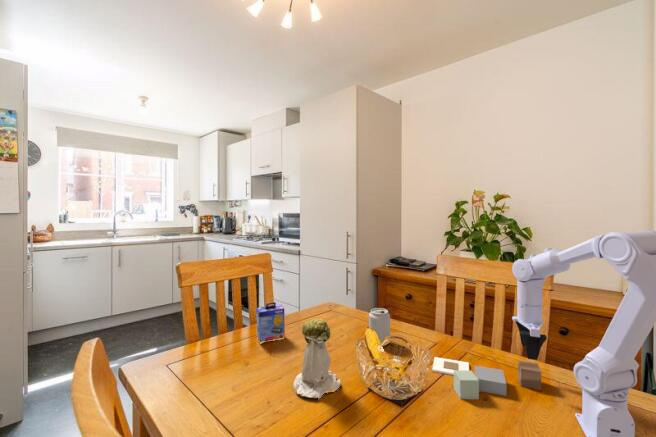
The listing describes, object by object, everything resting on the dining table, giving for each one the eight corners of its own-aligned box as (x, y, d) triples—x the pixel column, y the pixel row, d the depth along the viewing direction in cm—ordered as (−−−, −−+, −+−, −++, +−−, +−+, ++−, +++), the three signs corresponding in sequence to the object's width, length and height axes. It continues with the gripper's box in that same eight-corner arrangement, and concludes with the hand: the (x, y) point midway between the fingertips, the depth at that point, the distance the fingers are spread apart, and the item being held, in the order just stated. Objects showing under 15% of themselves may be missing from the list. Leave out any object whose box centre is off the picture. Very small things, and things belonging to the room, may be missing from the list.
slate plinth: (506, 397, 79) (506, 383, 79) (476, 391, 82) (476, 378, 82) (502, 382, 86) (502, 370, 86) (474, 377, 89) (474, 365, 88)
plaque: (469, 378, 88) (469, 375, 88) (432, 371, 92) (432, 368, 92) (468, 364, 95) (468, 361, 95) (434, 358, 99) (434, 356, 99)
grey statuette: (285, 385, 87) (283, 320, 86) (322, 369, 95) (320, 310, 94) (308, 406, 77) (306, 334, 77) (347, 386, 85) (346, 321, 84)
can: (390, 348, 107) (389, 314, 106) (368, 347, 108) (368, 313, 108) (390, 339, 114) (390, 307, 114) (370, 338, 116) (369, 306, 115)
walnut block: (541, 390, 82) (541, 371, 81) (520, 386, 83) (520, 368, 83) (537, 380, 86) (537, 363, 86) (518, 377, 88) (518, 360, 87)
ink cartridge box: (259, 345, 112) (258, 305, 111) (256, 339, 117) (255, 301, 116) (285, 339, 116) (284, 301, 115) (281, 334, 121) (280, 297, 120)
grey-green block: (478, 399, 78) (478, 380, 78) (460, 399, 79) (460, 380, 78) (471, 388, 83) (471, 370, 83) (453, 388, 83) (453, 370, 83)
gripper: (508, 294, 92) (508, 339, 92) (516, 310, 79) (516, 362, 79) (536, 296, 89) (536, 342, 90) (550, 313, 76) (549, 367, 76)
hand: (529, 352), depth 84 cm, fingers open, 7 cm apart
